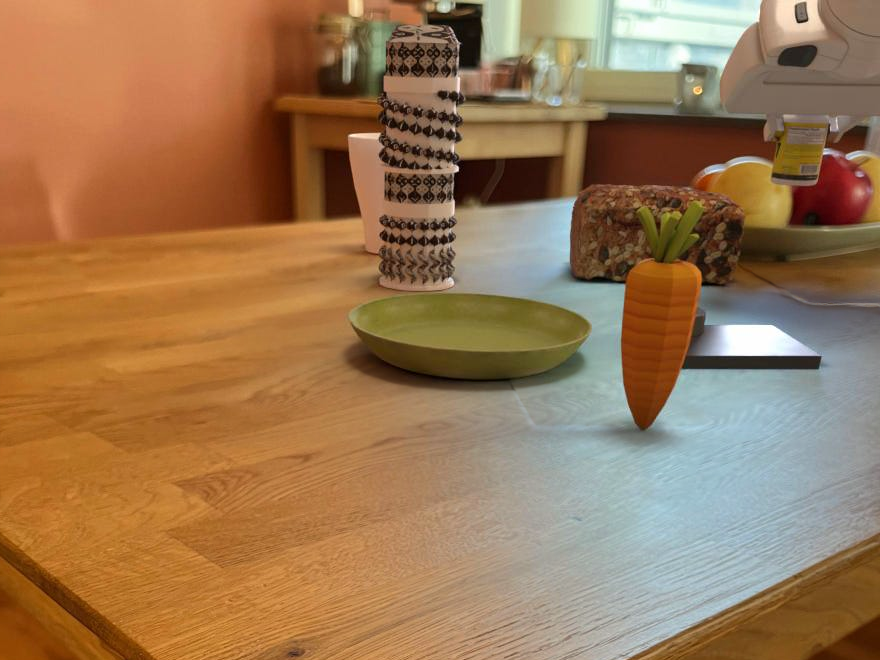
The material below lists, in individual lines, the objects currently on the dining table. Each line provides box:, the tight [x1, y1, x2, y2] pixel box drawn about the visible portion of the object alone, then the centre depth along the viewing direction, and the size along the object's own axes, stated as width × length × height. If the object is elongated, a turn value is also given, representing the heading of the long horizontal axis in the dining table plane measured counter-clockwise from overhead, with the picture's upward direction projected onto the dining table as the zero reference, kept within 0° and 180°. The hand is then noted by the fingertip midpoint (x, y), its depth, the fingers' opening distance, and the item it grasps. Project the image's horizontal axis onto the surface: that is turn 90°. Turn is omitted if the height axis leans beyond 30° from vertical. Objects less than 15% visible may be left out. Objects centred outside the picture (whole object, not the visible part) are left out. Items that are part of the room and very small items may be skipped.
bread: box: [569, 183, 746, 285], centre depth 119 cm, size 19×11×10 cm, turn 87°
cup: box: [347, 132, 385, 255], centre depth 129 cm, size 10×10×14 cm
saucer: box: [347, 292, 593, 381], centre depth 87 cm, size 21×21×3 cm
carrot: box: [620, 201, 704, 432], centre depth 68 cm, size 5×5×15 cm
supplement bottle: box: [770, 115, 830, 187], centre depth 105 cm, size 5×5×8 cm
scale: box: [681, 306, 823, 370], centre depth 90 cm, size 14×12×3 cm
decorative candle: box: [376, 23, 467, 292], centre depth 108 cm, size 9×9×25 cm
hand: (799, 136), depth 105 cm, fingers closed on supplement bottle, 5 cm apart
